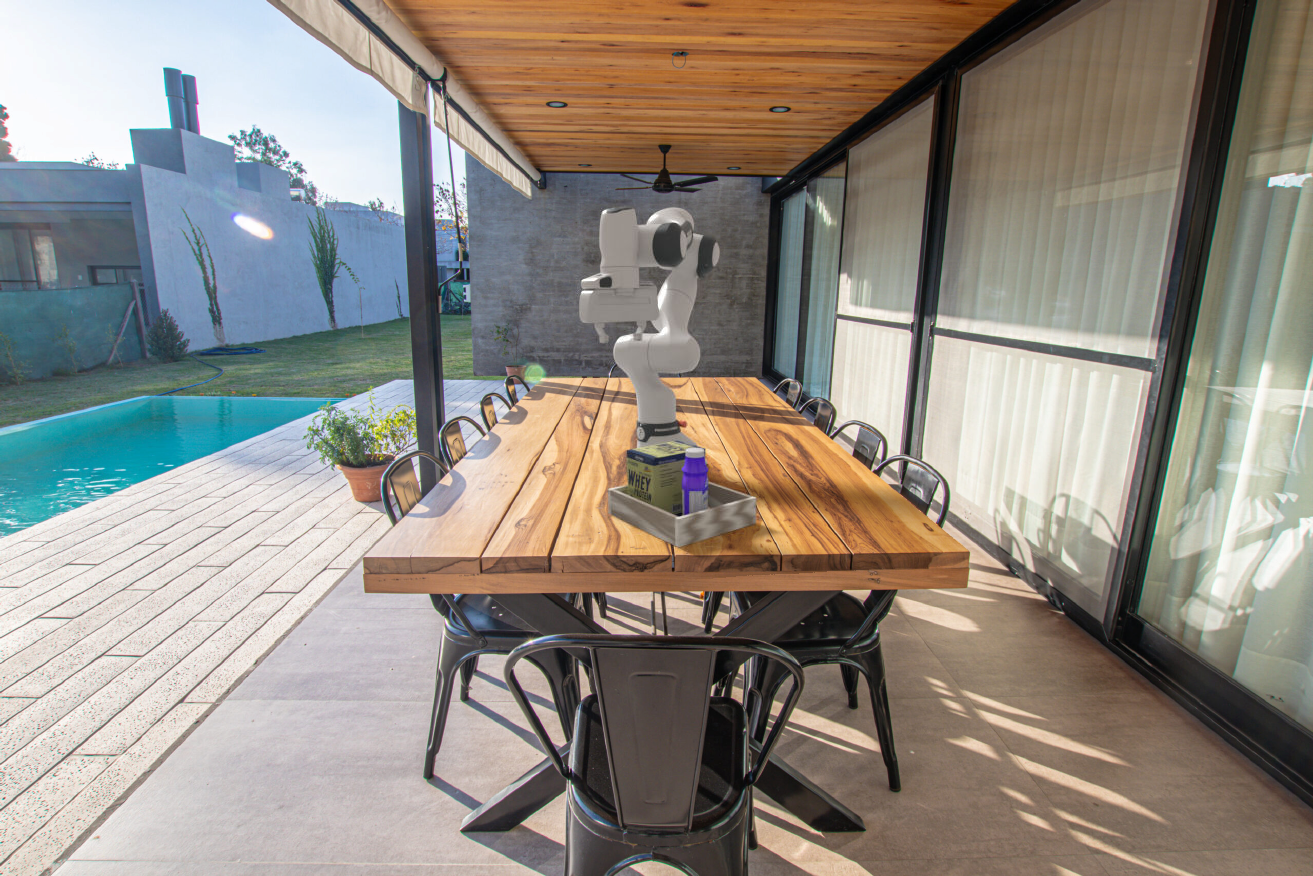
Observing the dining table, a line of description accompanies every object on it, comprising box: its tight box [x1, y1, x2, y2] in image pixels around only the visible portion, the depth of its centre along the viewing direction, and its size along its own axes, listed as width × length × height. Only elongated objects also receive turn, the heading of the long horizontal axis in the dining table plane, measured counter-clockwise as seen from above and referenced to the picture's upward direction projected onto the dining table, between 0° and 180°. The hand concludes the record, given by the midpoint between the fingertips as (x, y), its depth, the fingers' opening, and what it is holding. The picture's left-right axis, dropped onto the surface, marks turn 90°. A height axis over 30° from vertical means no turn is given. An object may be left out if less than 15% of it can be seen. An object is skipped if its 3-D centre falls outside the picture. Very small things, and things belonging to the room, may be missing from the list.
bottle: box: [682, 448, 709, 516], centre depth 138 cm, size 7×6×17 cm
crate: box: [607, 481, 757, 548], centre depth 145 cm, size 22×26×6 cm
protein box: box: [626, 441, 706, 517], centre depth 148 cm, size 10×16×16 cm
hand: (621, 341), depth 149 cm, fingers open, 8 cm apart
